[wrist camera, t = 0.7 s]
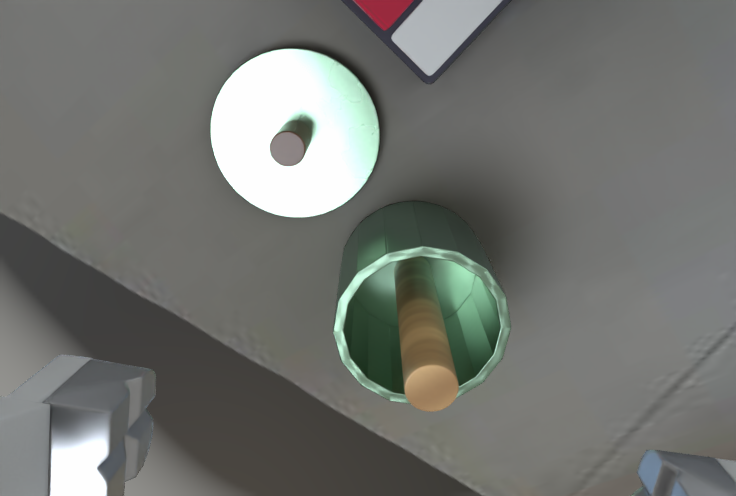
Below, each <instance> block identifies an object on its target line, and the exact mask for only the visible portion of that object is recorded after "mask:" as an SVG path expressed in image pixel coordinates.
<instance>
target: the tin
mask: <svg viewBox="0 0 736 496" xmlns="http://www.w3.org/2000/svg"><path fill="white" fill-rule="evenodd" d="M420 256H422V257H424V258H425V259H426V260H427V261H428V262H429V264H430V266H431V270H432V274H433V278H434V282H435V286H436V291H437V295H438V299H439V303H440V307H441V312H442V316H443V320H444V324H445V328H446V333H447V337H448V341H449V345H450V350H451V354H452V358H453V362H454V366H455V371H456V375H457V379H458V384H459V390H458V394H457V396H456V398H458V397H459V396H461V395H463V394H464V393H466V392H468V391H470V390H471V389H473V388H475V387H476V386H478V385H480V384H482V382H484V381H485V379H486V378H487V377H488V376H489V374H490V373H491V372H492V371H493V369H494V368H495V367H496V366H497V364H498V363H499V362H500V361H501V359H502V357H503V355H504V351H505V348H506V344H507V341H508V337H509V334H510V330H511V323H510V317H509V311H508V304H507V298H506V295H505V293H504V291H503V289H502V287H501V285H500V283H499V281H498V279H497V277H496V274H495V272H494V270H493V268H492V266H491V264H490V262H489V260H488V258H487V256H486V254H485V251H484V249H483V247H482V245H481V243H480V242H479V240H478V239H477V237H476V236H475V234H474V233H473V231H472V230H471V228H470V227H469V226H468V224H467V223H466V222H465V221H464V220H462V219H461V218H460V217H459V216H458V215H456V214H455V213H453V212H452V211H450V210H448V209H446V208H444V207H441V206H439V205H436V204H432V203H428V202H420V201H407V202H400V203H396V204H392V205H389V206H386V207H384V208H381V209H379V210H378V211H376V212H374V213H372V214H371V215H370V216H368V217H367V218H366V219H364V220H363V221H362V222H361V223H360V224H359V225H358V226H357V228H356V229H355V230H354V232H353V233H352V235H351V236H350V238H349V240H348V242H347V244H346V245H345V248H344V252H343V257H342V263H341V269H340V276H339V284H338V293H337V301H336V310H335V318H334V326H333V333H334V337H335V341H336V344H337V348H338V352H339V355H340V359H341V361H342V363H343V364H344V365H345V366H346V368H347V369H348V370H349V371H350V372H351V374H352V375H353V376H354V377H355V379H356V380H357V381H358V382H359V383H360V385H362V386H363V387H365V388H367V389H369V390H371V391H373V392H374V393H376V394H378V395H380V396H382V397H383V398H385V399H387V400H389V401H395V402H401V403H408V404H411V403H410V402H409V401H408V400H407V398H406V396H405V392H404V382H403V371H402V359H401V348H400V337H399V326H398V314H397V303H396V292H395V281H394V268H395V265H396V263H397V262H398V261H401V260H406V259H411V258H415V257H420ZM456 398H455V399H456Z"/></svg>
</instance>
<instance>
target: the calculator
mask: <svg viewBox="0 0 736 496" xmlns="http://www.w3.org/2000/svg"><path fill="white" fill-rule="evenodd" d="M342 1H343V2H344V3H345V4H346V5H347V6H348V7H349V8H350V9H351V10H352V11H353V12H354V13H355V14H356V15H357V16H358V17H359V18H360V19H361V20H362V21H363V22H364V23H365V24H366V25H367V26H368V27H369V28H370V29H371V30H372V31H373V32H374V33H375V34H376V35H377V36H378V37H379V38H380V39H381V40H382V41H383V42H384V43H385V44H386V45H387V46H388V47H389V48H390V49H391V50H392V51H393V52H394V53H395V54H396V55H397V56H398V57H399V58H400V59H401V60H402V61H403V62H404V63H405V64H406V65H407V66H408V67H409V68H410V69H411V70H412V71H413V72H414V73H415V74H416V75H417V76H418V77H419V78H420V79H421V80H422V81H423V82H425V83H426V84H432V83H434V82H435V81H436V80H437V79H438V78H439V77H440V76H441V75H442V74H443V73H444V72H445V70H446V69H447V68H448V67H449V66H450V65H451V64H452V63H453V62H454V61H455V60H456V59H457V58H458V57H459V56H460V55H461V54H462V52H463V51H464V50H465V49H466V48H467V47H468V46H469V45H470V44H471V43H472V42H473V41H474V40H475V39H476V38H477V37H478V36H479V34H480V33H481V32H482V31H483V30H484V29H485V28H486V27H487V26H488V25H489V24H490V23H491V22H492V21H493V20H494V19H495V18H496V16H497V15H498V14H499V13H500V12H501V11H502V10H503V9H504V8H505V7H506V6H507V5H508V4H509V3H510V2H511V1H512V0H342Z"/></svg>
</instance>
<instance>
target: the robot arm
mask: <svg viewBox="0 0 736 496" xmlns="http://www.w3.org/2000/svg"><path fill="white" fill-rule="evenodd" d="M155 393H156V375H155V373H154V370H151V369H145V368H140V367H135V366H129V365H123V364H118V363H112V362H106V361H100V360H94V359H92V358H86V357H79V356H70V355H59V356H57V357H56V358H55V359H54V360H52V361H51V362H50V363H49V364H47V365H46V366H45V367H43V368H42V369H41V370H40V371H38V372H37V373H36V374H35V375H33V376H32V377H31V378H30V379H28V380H27V381H26V382H25V383H23V384H22V385H21V386H19V387H18V388H17V389H16V390H14V391H13V392H12V393H11V394H9V395H8V396H7V397H0V496H124V488H125V482H126V481H128V480H131V479H133V478H135V477H136V476H137V475H138V473H139V471H140V470H141V468H142V467H143V465H144V462H145V459H146V457H147V454H148V451H149V448H150V444H151V439H152V434H153V422H154V420H153V418H152V417H151V415H150V413H149V412H148V410H147V408H146V407H147V406H148V405H149V403H150V402H151V401H152V399H153V398H154V397H155ZM637 474H638V476H639V479H640V481H641V483H642V485H643V486H642V487H641V488H639V489H638V490H637V491H636V492H634V493H633V494H632V495H631V496H736V461H732V460H724V459H715V458H712V457H704V456H697V455H689V454H682V453H675V452H667V451H660V450H647V451H646V452H645V454H644V455H643V457H642V458H641V461H640V464H639V467H638V470H637Z"/></svg>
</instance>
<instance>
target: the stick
mask: <svg viewBox="0 0 736 496" xmlns="http://www.w3.org/2000/svg"><path fill="white" fill-rule="evenodd" d="M394 281H395V292H396V303H397V314H398V326H399V337H400V348H401V359H402V371H403V382H404V392H405V396H406V398H407V400H408V401H409V402H410V403H411V404H412V405H413V406H414V407H416V408H418V409H420V410H423V411H429V412H430V411H439V410H442V409H444V408H446V407H448V406H449V405H450V404H451V403H452V402H453V401H454V400H455V398H456V396H457V394H458V390H459V384H458V379H457V375H456V371H455V366H454V362H453V358H452V354H451V350H450V345H449V341H448V337H447V333H446V328H445V324H444V320H443V316H442V312H441V307H440V303H439V299H438V295H437V291H436V286H435V282H434V278H433V274H432V270H431V266H430V264H429V262H428V261H427V260H426V259H425V258H424V257H422V256H420V257H415V258H411V259H406V260H401V261H398V262H397V263H396V265H395V268H394Z"/></svg>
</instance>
